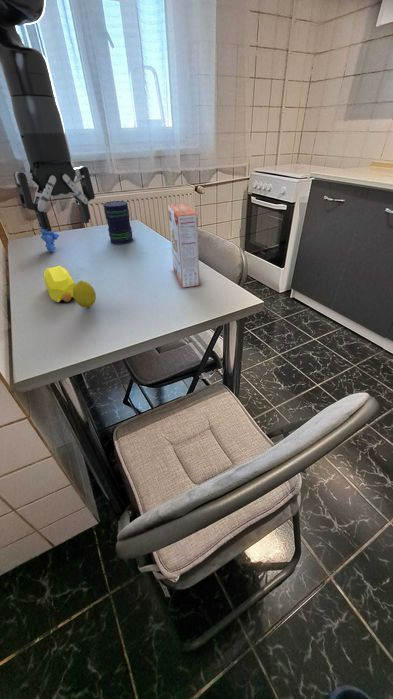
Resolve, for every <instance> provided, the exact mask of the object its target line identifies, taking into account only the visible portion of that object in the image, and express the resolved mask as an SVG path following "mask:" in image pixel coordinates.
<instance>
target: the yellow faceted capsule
mask: <svg viewBox="0 0 393 699" xmlns="http://www.w3.org/2000/svg"><path fill="white" fill-rule="evenodd" d="M43 279H44V280H43V281H44V286H45V287H46V290H47V292H48V294H49V298H50V299H51V300H53V301H54V302H56V303H60V302H61V301H64V302H70V301H71V299H74V296H73V288H74V286H75V284H76V283H75V281H74V280H73V278H72V275H71V274H70V273H69V271H68V269H67V268H65V267H63V266H61V265H56V266H54V267H47V268H46V269H45V270H44V272H43Z"/></svg>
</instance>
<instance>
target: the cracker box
mask: <svg viewBox="0 0 393 699" xmlns="http://www.w3.org/2000/svg"><path fill="white" fill-rule="evenodd" d="M167 209H168V210H167V211H168V221H169V233H170V243H171V244H170V245H171V258H172V267H173V272H174V274H175V276H176V278H177V280H178V282H179V285H180V286H181V288H182V289H185V288H191V287H198V286H200V259H199V258H200V257H199V255H200V254H199V223H198V222H199V221H198V220H199V218H198V213H197V212H196V211H195V210H193V209H192V208H191V207H190V206H189V205H188V204H187V203H174V204H172V203H171V204H168V205H167Z"/></svg>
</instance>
